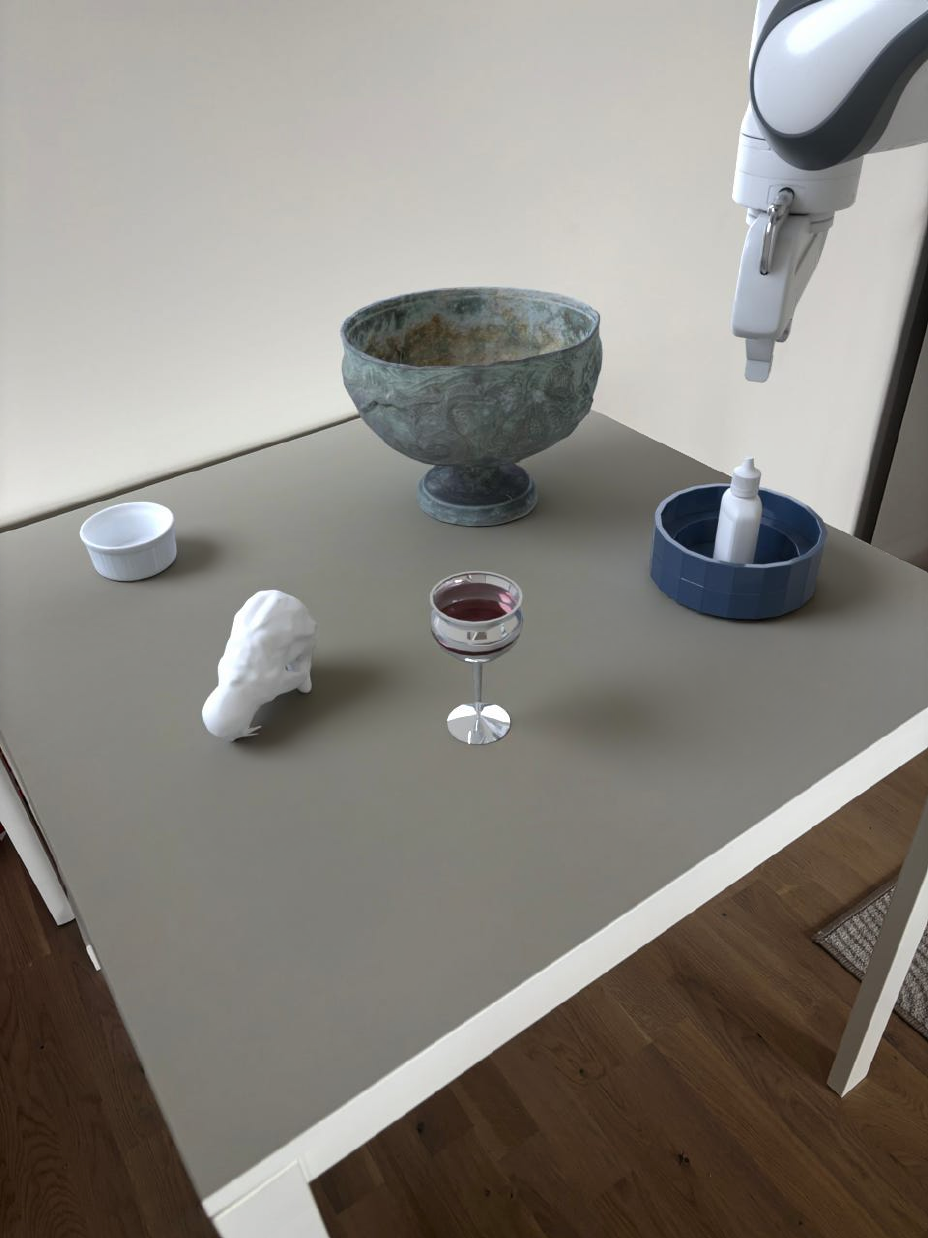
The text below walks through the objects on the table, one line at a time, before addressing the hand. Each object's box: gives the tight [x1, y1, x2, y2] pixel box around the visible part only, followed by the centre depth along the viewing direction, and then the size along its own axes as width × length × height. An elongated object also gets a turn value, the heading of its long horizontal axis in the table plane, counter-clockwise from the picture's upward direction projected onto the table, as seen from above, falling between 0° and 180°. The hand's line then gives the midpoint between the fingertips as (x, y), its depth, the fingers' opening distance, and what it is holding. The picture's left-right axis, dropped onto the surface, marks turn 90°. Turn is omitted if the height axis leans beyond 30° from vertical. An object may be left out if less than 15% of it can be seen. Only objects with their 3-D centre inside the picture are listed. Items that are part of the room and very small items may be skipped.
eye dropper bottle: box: [713, 455, 762, 564], centre depth 88 cm, size 4×6×12 cm
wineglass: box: [429, 570, 524, 745], centre depth 73 cm, size 7×7×12 cm
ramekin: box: [79, 501, 178, 582], centre depth 96 cm, size 9×9×4 cm
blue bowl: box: [648, 482, 828, 620], centre depth 90 cm, size 15×15×6 cm
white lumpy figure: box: [201, 589, 319, 742], centre depth 76 cm, size 6×8×12 cm
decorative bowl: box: [339, 285, 604, 527], centre depth 100 cm, size 26×26×20 cm
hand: (767, 358), depth 79 cm, fingers open, 8 cm apart
